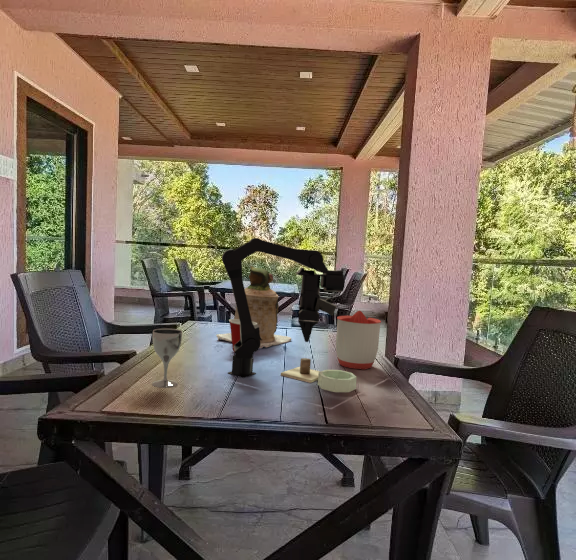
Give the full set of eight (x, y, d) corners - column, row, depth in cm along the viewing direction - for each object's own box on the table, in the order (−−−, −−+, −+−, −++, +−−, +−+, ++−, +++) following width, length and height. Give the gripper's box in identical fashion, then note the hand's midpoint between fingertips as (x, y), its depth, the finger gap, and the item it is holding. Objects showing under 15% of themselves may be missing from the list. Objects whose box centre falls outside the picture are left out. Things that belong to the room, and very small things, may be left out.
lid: (310, 382, 139) (311, 365, 139) (280, 375, 145) (281, 358, 145) (328, 375, 148) (329, 359, 148) (299, 368, 155) (300, 353, 154)
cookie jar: (263, 350, 182) (268, 268, 179) (213, 340, 193) (218, 264, 191) (293, 341, 203) (298, 268, 201) (246, 332, 215) (251, 264, 213)
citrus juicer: (379, 362, 173) (383, 309, 172) (375, 374, 156) (380, 315, 155) (338, 357, 177) (341, 305, 176) (329, 367, 160) (334, 310, 159)
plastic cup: (259, 355, 172) (261, 323, 172) (231, 355, 168) (232, 323, 168) (250, 348, 182) (252, 318, 182) (223, 348, 178) (225, 318, 178)
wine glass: (149, 380, 132) (151, 328, 131) (177, 379, 135) (180, 328, 134) (151, 388, 125) (154, 333, 124) (181, 387, 128) (184, 333, 127)
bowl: (344, 395, 130) (345, 381, 130) (312, 387, 136) (313, 374, 136) (359, 387, 139) (360, 374, 139) (329, 380, 144) (330, 368, 144)
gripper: (338, 294, 136) (334, 347, 137) (333, 289, 155) (330, 335, 156) (300, 292, 137) (296, 344, 138) (300, 287, 155) (297, 333, 156)
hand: (306, 339), depth 147 cm, fingers open, 9 cm apart
